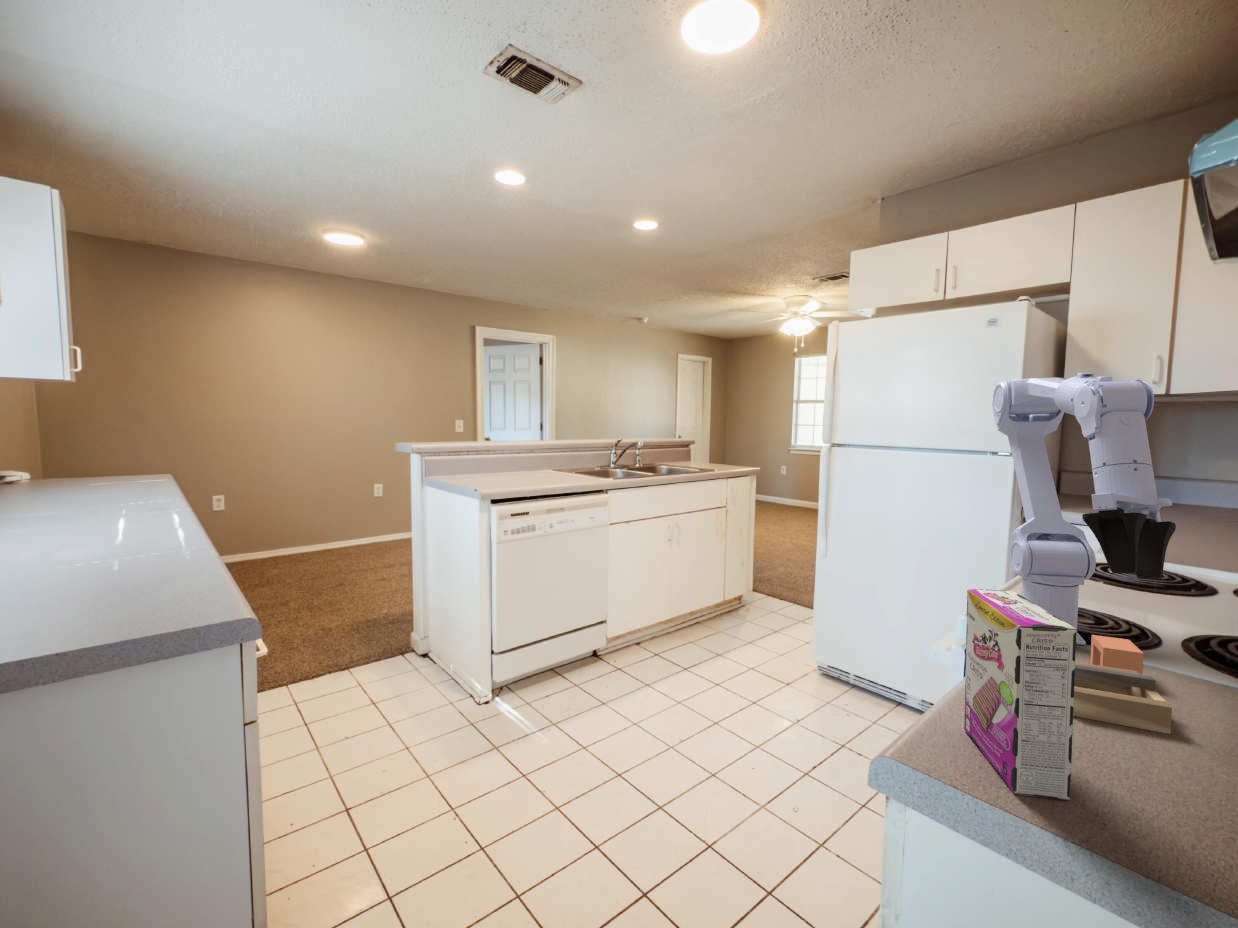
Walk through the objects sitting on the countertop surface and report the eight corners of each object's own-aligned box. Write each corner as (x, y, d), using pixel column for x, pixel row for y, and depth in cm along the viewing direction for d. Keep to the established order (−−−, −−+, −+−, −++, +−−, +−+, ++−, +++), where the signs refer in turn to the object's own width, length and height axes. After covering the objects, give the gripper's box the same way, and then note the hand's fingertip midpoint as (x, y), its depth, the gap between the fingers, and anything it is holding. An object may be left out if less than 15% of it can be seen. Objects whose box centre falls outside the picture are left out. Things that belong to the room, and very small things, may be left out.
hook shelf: (1046, 679, 72) (1047, 648, 72) (1135, 693, 68) (1137, 661, 68) (1066, 714, 63) (1068, 680, 63) (1170, 733, 59) (1172, 697, 59)
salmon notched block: (1090, 665, 76) (1091, 634, 76) (1127, 671, 74) (1129, 639, 74) (1101, 680, 72) (1103, 647, 71) (1141, 686, 70) (1143, 653, 70)
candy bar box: (960, 729, 60) (964, 587, 59) (1009, 734, 59) (1015, 589, 58) (1011, 796, 49) (1017, 623, 48) (1073, 803, 48) (1081, 626, 47)
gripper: (1139, 452, 62) (1157, 570, 59) (1185, 474, 69) (1204, 581, 66) (1066, 462, 68) (1079, 570, 65) (1115, 481, 75) (1129, 580, 72)
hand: (1137, 576), depth 66 cm, fingers open, 7 cm apart
